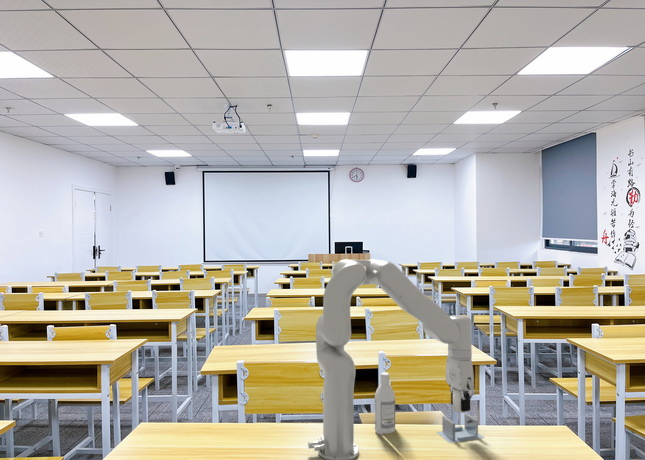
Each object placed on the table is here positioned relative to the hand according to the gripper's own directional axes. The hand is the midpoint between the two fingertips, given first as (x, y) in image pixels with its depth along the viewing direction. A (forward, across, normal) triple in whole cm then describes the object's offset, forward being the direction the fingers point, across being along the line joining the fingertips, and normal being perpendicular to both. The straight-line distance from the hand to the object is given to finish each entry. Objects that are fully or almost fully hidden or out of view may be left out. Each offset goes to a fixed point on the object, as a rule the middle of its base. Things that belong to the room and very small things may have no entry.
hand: (460, 407), depth 147 cm
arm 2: (+9, 0, +4) cm, 10 cm away
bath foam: (+10, -12, -22) cm, 27 cm away
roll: (+1, 0, 0) cm, 1 cm away
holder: (+10, 0, 0) cm, 10 cm away
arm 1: (+9, 0, -5) cm, 10 cm away
